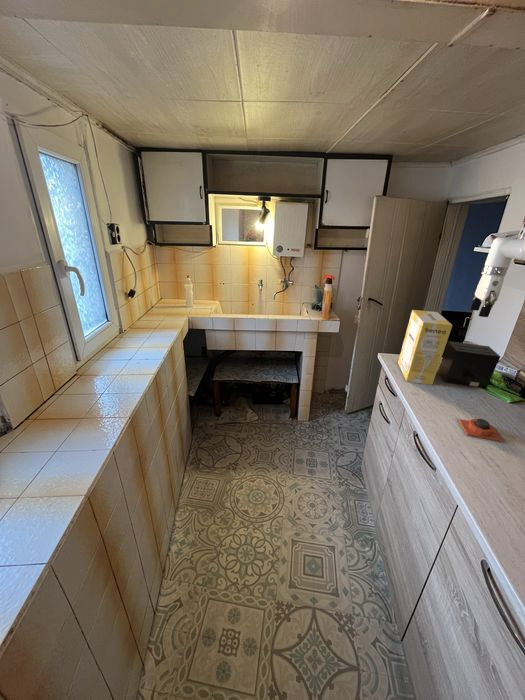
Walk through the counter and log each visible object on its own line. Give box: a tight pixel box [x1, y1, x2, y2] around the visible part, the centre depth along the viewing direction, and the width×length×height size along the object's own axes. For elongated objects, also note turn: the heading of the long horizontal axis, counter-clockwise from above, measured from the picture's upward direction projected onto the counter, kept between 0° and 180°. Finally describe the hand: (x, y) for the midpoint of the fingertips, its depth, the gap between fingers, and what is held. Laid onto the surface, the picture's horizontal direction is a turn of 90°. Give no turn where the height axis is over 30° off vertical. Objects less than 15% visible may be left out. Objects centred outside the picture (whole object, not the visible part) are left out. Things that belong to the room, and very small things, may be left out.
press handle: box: [465, 375, 479, 388], centre depth 117 cm, size 3×6×2 cm, turn 164°
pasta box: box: [397, 309, 453, 386], centre depth 125 cm, size 18×10×28 cm, turn 167°
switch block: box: [458, 418, 503, 443], centre depth 94 cm, size 10×8×3 cm
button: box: [475, 418, 491, 430], centre depth 94 cm, size 4×4×2 cm
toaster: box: [437, 340, 501, 389], centre depth 124 cm, size 16×11×16 cm
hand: (478, 313), depth 117 cm, fingers open, 9 cm apart
